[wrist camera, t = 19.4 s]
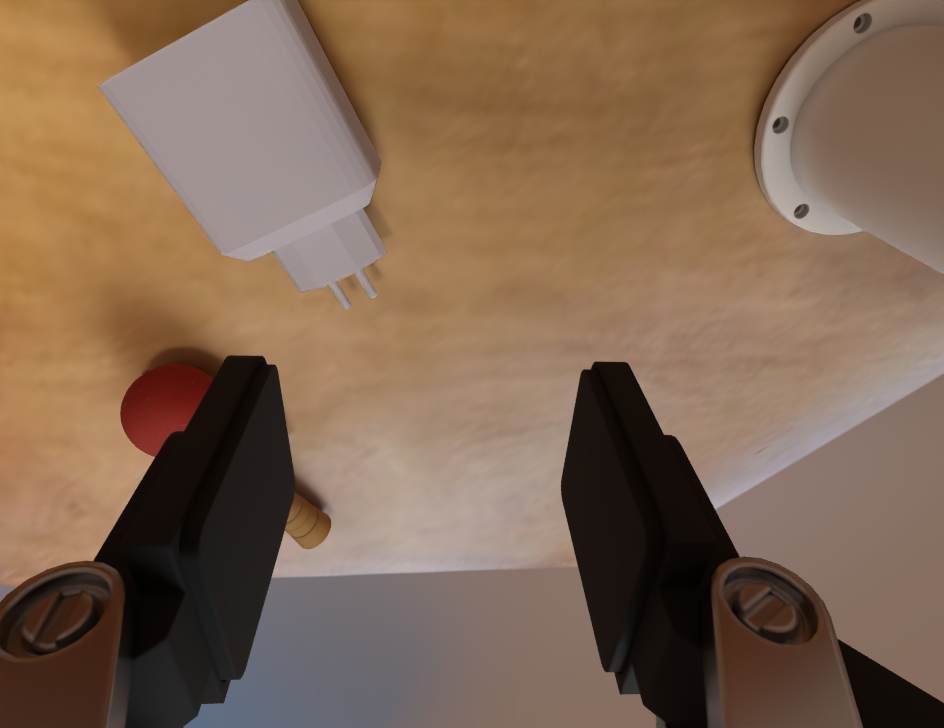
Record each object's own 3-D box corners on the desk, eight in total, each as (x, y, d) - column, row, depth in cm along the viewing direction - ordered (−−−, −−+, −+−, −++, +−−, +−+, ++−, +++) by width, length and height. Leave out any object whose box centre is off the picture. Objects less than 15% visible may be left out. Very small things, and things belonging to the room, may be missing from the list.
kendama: (367, 482, 47) (207, 328, 36) (353, 555, 43) (164, 406, 31) (290, 502, 50) (118, 364, 38) (269, 573, 45) (67, 441, 34)
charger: (300, 312, 37) (134, 73, 29) (431, 254, 35) (293, -15, 28) (285, 352, 33) (88, 87, 25) (432, 288, 31) (270, -15, 24)
